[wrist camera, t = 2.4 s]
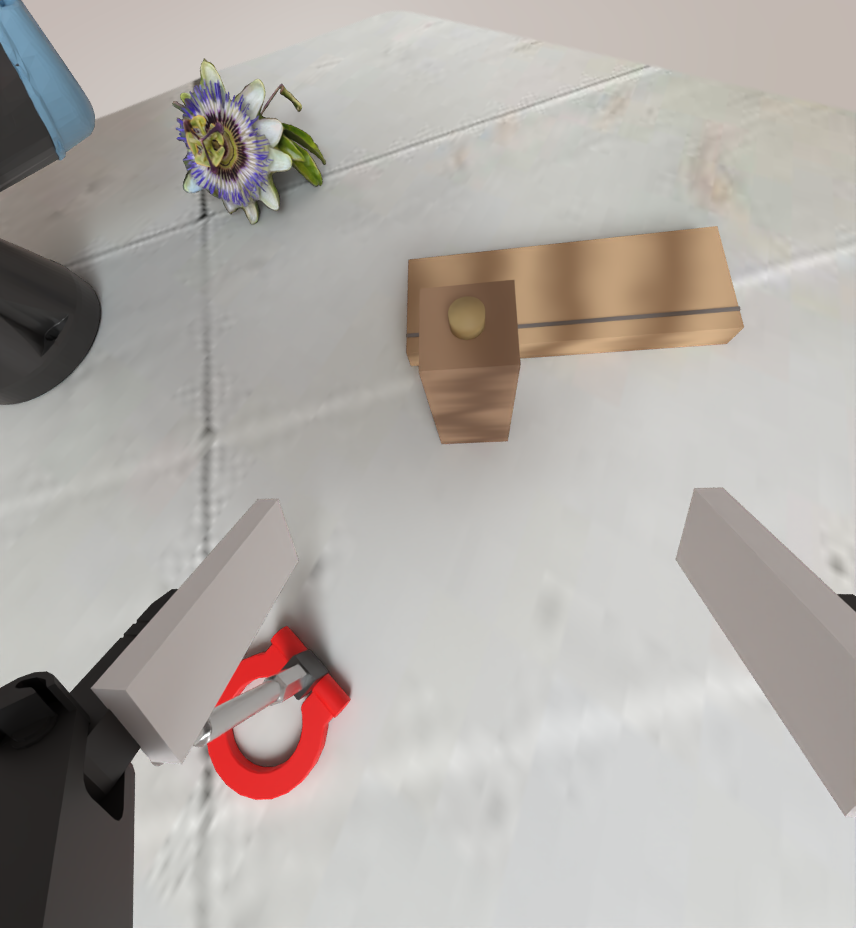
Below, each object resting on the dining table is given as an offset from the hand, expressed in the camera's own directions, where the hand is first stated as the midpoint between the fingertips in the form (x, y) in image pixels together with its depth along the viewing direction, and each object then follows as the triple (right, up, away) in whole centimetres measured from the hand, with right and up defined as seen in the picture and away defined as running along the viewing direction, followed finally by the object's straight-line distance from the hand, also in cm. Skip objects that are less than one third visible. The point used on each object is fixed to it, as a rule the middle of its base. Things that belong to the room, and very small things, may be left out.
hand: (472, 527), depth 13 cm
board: (+9, +15, +19) cm, 26 cm away
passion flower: (-18, +31, +28) cm, 46 cm away
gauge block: (+2, +6, +17) cm, 19 cm away
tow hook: (-12, -15, +14) cm, 23 cm away
